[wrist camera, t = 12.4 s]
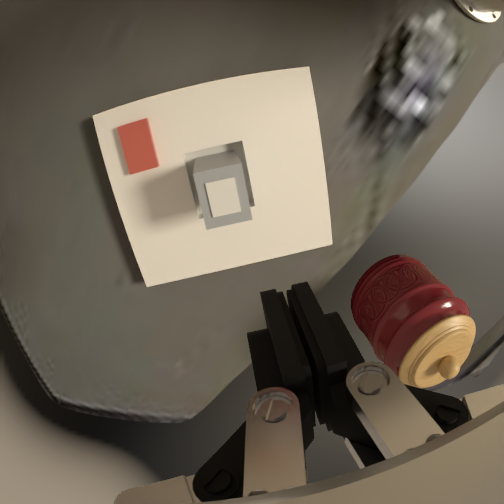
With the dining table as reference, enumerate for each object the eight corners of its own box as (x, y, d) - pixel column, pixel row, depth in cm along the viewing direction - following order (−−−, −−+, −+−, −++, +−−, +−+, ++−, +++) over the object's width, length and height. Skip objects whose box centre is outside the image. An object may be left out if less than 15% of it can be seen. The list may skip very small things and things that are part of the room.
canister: (337, 328, 46) (387, 422, 30) (363, 248, 40) (440, 332, 25) (406, 326, 48) (462, 402, 32) (435, 255, 43) (512, 323, 27)
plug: (233, 149, 33) (241, 163, 25) (242, 194, 35) (252, 220, 28) (195, 158, 33) (192, 174, 25) (206, 202, 35) (206, 230, 28)
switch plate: (303, 68, 30) (311, 65, 27) (326, 237, 39) (334, 247, 36) (98, 114, 29) (89, 116, 27) (149, 278, 38) (145, 290, 36)
